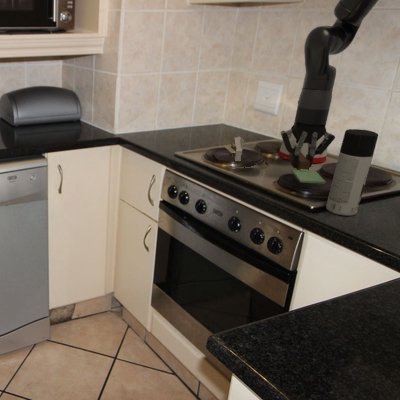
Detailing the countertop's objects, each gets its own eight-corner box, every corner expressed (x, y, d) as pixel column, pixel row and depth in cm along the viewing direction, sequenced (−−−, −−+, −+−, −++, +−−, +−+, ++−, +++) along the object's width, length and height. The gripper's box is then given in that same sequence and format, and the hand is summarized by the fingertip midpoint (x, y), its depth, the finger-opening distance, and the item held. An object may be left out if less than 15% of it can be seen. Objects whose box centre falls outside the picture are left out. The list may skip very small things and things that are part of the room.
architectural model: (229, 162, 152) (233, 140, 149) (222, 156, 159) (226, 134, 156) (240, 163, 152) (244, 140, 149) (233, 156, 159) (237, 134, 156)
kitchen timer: (306, 150, 166) (314, 107, 160) (335, 161, 153) (346, 114, 148) (270, 152, 164) (277, 108, 158) (296, 163, 151) (305, 116, 146)
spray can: (361, 218, 114) (385, 136, 106) (330, 215, 115) (352, 134, 107) (349, 207, 120) (371, 129, 112) (320, 205, 121) (340, 127, 113)
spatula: (281, 159, 142) (283, 149, 140) (303, 160, 140) (305, 150, 139) (299, 182, 123) (302, 171, 122) (325, 184, 121) (328, 173, 120)
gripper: (288, 107, 125) (276, 169, 131) (347, 109, 122) (332, 173, 128) (282, 102, 132) (270, 162, 138) (338, 104, 129) (323, 165, 135)
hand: (300, 167), depth 133 cm, fingers closed on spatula, 2 cm apart
